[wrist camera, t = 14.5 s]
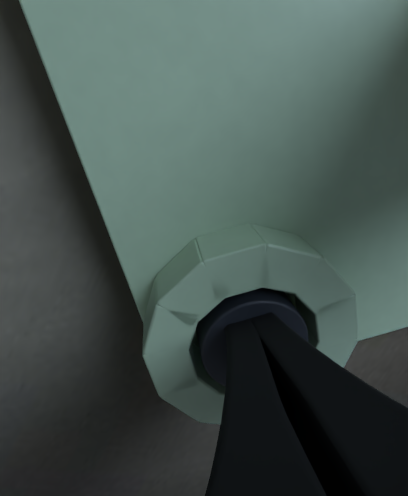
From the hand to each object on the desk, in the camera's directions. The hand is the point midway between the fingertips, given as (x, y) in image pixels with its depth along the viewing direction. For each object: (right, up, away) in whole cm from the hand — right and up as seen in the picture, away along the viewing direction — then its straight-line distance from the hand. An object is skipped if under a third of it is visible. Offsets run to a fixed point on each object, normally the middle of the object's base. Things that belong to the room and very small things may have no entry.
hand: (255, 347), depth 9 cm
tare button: (0, +1, +1) cm, 1 cm away
